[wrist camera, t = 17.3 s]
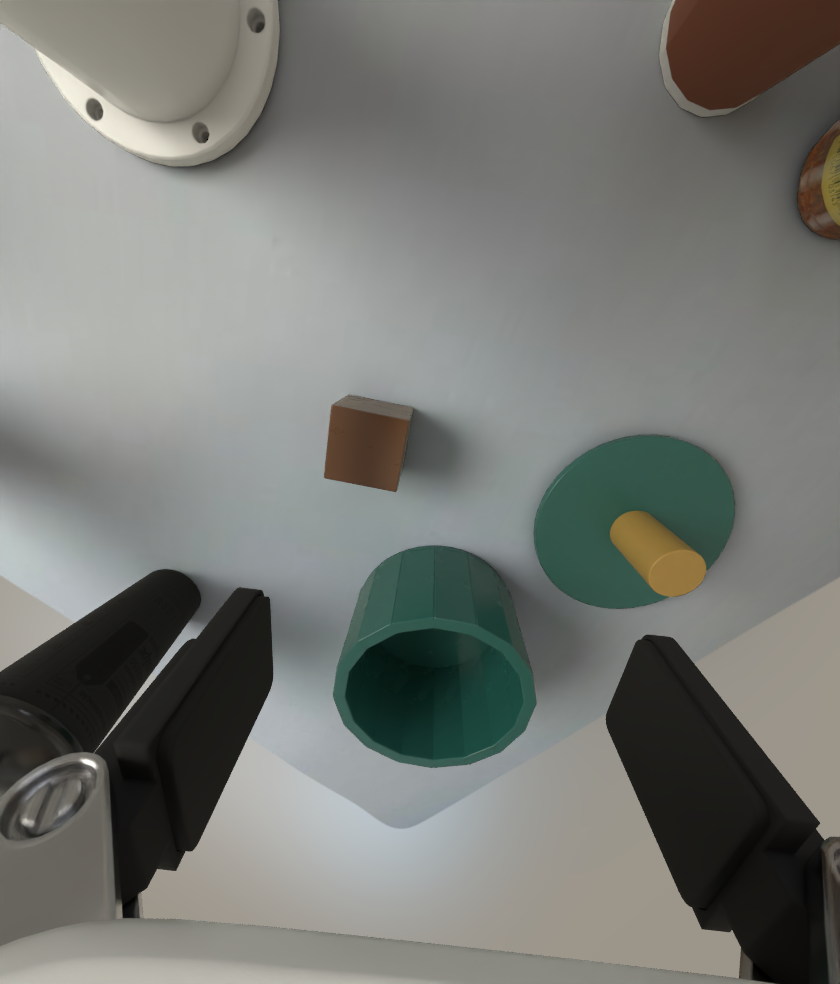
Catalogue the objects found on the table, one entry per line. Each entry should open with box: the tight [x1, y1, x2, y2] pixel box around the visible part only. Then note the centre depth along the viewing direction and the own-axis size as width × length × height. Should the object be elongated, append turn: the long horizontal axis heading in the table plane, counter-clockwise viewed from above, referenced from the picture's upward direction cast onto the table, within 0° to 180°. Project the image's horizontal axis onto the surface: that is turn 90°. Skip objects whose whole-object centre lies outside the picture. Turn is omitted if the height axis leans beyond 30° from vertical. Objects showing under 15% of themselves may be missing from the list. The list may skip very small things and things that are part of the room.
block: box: [324, 395, 414, 492], centre depth 25 cm, size 4×4×4 cm
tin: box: [333, 546, 536, 768], centre depth 28 cm, size 13×13×8 cm
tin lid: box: [534, 435, 735, 609], centre depth 25 cm, size 14×14×7 cm
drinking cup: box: [0, 569, 201, 798], centre depth 23 cm, size 8×8×20 cm
